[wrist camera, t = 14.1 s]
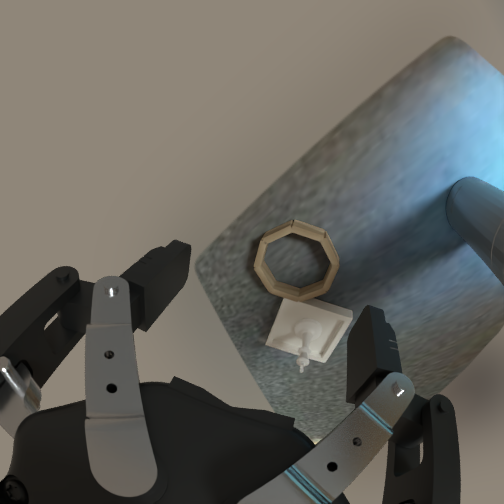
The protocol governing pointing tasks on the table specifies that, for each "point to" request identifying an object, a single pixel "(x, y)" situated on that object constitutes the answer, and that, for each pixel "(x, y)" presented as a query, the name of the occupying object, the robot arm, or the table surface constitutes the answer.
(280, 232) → the holder ring
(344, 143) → the table surface
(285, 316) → the tray
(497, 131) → the table surface
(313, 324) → the chess piece
